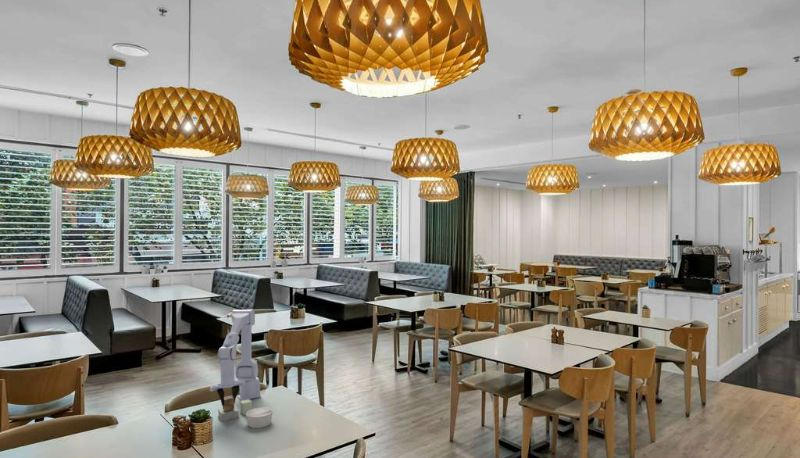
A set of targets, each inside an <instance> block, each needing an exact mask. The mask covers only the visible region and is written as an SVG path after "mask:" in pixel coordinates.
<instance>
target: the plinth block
mask: <svg viewBox="0 0 800 458" xmlns="http://www.w3.org/2000/svg"><path fill="white" fill-rule="evenodd" d="M217 412H218V418H219V419H220V421H221V422H225V421H229V420H234V419H238V418H240V417H239V416H240V415H239V412H240V410H239V409H238V408H237V407H236V406H235V405H234V409H233V410H229V411H224V409H223V408H220V409H218V411H217Z"/></svg>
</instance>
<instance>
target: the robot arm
mask: <svg viewBox="0 0 800 458" xmlns="http://www.w3.org/2000/svg"><path fill="white" fill-rule="evenodd" d="M230 317H231V323H232V325H231V329H230V332H229V333H227V334H226V337H225V339H224V341H223V344H222V346H221V347H219V349H218V351H217V359H218V363H219V365H220V368H219V369H220V383H217V384H213V385H210V386H209V391H210V392H214V391H216V392H217V395H218V396H219V400H220V402H221V406H222V407H223V406H224V397H225V391H224V389H230V388H231V395H232V396H233V397H234V405H235V404H236V399H237V398H238V399H239V400H240V401H243V400H248V399H249V400H252V399H257V398H258V399H259V398H261V396H262V395H261V380H260V378H259V377H258V376H259V367H258V362H257V361H256V360H254V359H253V358H252V328H253V326H254V325H255V324H256V323H255V322H256V313H255V311H254V309H253V308H251V309H233V310H232V311H231V316H230ZM239 333H241V334H240V336H241V339H240V336H239ZM239 341H241V342H240V351H241V353H240V354H241V357H240V361H238V362H237V363H236V365H235V358H236V356H237V346H238V343H239ZM235 366H236V367H235ZM235 378H236V379H238V380H235Z"/></svg>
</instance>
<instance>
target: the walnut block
mask: <svg viewBox="0 0 800 458" xmlns="http://www.w3.org/2000/svg"><path fill="white" fill-rule="evenodd" d="M234 406H235V404H234V397H233V396H232V394H231V395H227V396H224V406H222V409H224V411H229V410H233V409H234Z"/></svg>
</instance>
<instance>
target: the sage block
mask: <svg viewBox="0 0 800 458" xmlns="http://www.w3.org/2000/svg"><path fill="white" fill-rule="evenodd" d="M239 403H240V414H242V415H243V416H244V415H246V412H247V411H249V410H251V409H253V407H252V406H253V404H252V403H253V402H252V400H251V399H248V400H243V401H241V400H240V402H239Z"/></svg>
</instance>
